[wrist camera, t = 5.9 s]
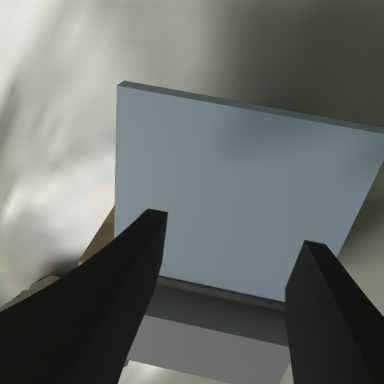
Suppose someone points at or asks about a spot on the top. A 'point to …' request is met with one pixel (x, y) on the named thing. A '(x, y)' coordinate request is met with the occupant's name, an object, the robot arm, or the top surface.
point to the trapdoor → (232, 217)
